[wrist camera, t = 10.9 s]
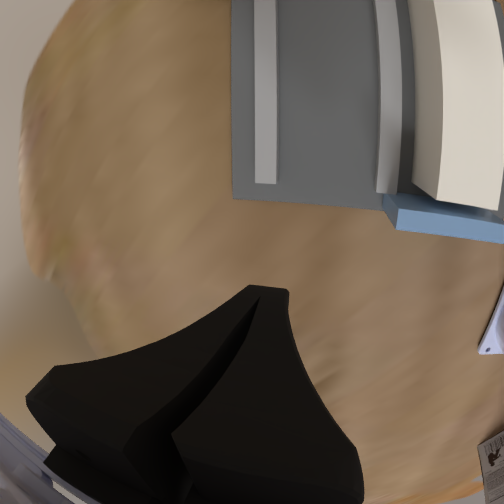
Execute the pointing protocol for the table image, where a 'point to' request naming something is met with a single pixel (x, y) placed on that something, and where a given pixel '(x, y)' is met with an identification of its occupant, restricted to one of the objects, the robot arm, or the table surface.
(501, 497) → the coffee box
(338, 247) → the table surface
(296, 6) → the board
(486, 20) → the cream rectangular block
